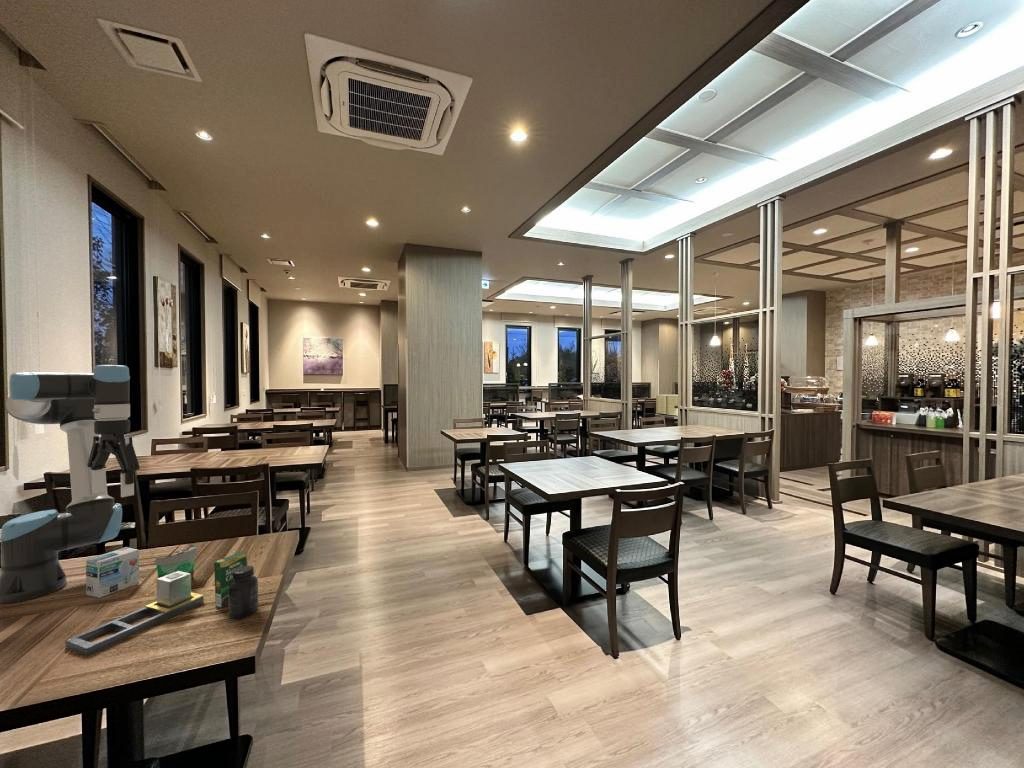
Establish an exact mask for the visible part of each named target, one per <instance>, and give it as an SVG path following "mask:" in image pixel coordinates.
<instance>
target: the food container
mask: <svg viewBox="0 0 1024 768" xmlns="http://www.w3.org/2000/svg"><path fill="white" fill-rule="evenodd" d="M198 552H199V551H198V548H197V546H196V545H195V544H192V543H190V544H189V547H186V548H185V549H182V550H178V551H174V552H172V553H171V554H170V553H169V554H168V555H167V556H165V557H155V559H154V566H156V572H157V579H158V578H161V577H163V576H166V575H169V574H171V573H174V572H177V571H181V572H186V573H190V574H191V582H192V581H193V579H194V572H195V571H194V570H195V561H196V555H198Z"/></svg>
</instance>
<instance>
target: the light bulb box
mask: <svg viewBox="0 0 1024 768" xmlns="http://www.w3.org/2000/svg"><path fill="white" fill-rule="evenodd" d="M85 582H86V583H85V585H86V586H85V587H86V588H85V593H86V596H91V597H95V598H97V599H100V598H102V597H105V596H108V595H110V594H114V593H116V592H119V591H122V590H124V589H127V588H130V587H132V586H135V585H137V584H139V583H140V550H139V549H137V548H133V547H132V548H131V547H128V546H125V547H122V548H120V549H116V550H112V551H110V552H107V553H103V554H100V555H96V556H93V557H90V558H86V559H85Z"/></svg>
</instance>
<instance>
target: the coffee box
mask: <svg viewBox="0 0 1024 768" xmlns="http://www.w3.org/2000/svg"><path fill="white" fill-rule="evenodd" d="M247 559H248V558H247V552H244V551H238V552H236V553H234V554H232V555H229V556H226V557H224V558H221V559H218V560H216V561H214V563H213V565H214V572H213V573H214V594H215V598H214V599H215V601H214V602H215V608H217V609H221V610H222V609H224V608H226V607H229V591H228V588H229V584H230V582H231V581H232V580H233V570H235V569H236V568H239V567H243V566H248V562H247Z"/></svg>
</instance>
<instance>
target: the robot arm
mask: <svg viewBox="0 0 1024 768" xmlns="http://www.w3.org/2000/svg"><path fill="white" fill-rule="evenodd" d="M130 379H131V376H130V368H129V367H128V366H127V365H120V364H119V365H118V364H115V365H114V364H98V365H95V366H94V367H93V372H33V371H26V372H13V373H11V374H10V376H9V386H8V387H9V396H8V397H7V400H5V401H6V402H5V410H6V412H7V413H8V415H10V416H11V417H13V418H14V419H16V420H19V421H21V422H25V423H30V424H37V425H59V430H61V431H62V432H64V433H66V437H67V439H66V440H67V451H68V453H67V454H68V465H69V466H68V467H69V477H70V490H71V491H70V492H71V502H70V503H69V504H67V506H66V507H65V512H63V513H62V512H61V513H59V512H58V510H57V509H47V510H41V511H36V512H32V513H27V514H24V515H20V516H18V517H16V518H12V519H10V520H8V521H7V522H4V524H3V525H2V527H1V530H0V531H1V532H0V543H1V545H0V546H1V547H0V550H1V554H0V560H1V561H0V563H1V564H0V567H1V568H0V570H1V572H0V604H1V603H2V605H4V604H12V603H18V602H23V601H24V602H25V601H28V600H33V599H35V598H39V597H42V596H45V595H48V594H50V593H54V592H55V591H58V590H60V589H62V588H63V587H64V586H66V585H67V574H66V572H65V571H64V569H63V566H62V564H61V562H60V561H59V552H62V551H66V550H72V549H76V548H80V547H85V546H89V545H93V544H100V543H102V542H106V541H111V540H114V538H116V537H118V535H119V533H120V529H121V526H122V520H123V508H122V504H121V503H118V502H117V503H115V497H113V496H110V495H109V493H108V486H107V469H106V468H107V465H106V464H107V461H108V459H109V458H110V456H111V455H114V457H115V459H116V461H117V464H118V465H119V467H120V469H121V471H120V472H119V474H120V498H126V497H131V496H135V473H136V471H138V470H140V469H141V468H140V467H141V466H140V463H139V459H138V457H137V455H136V451H135V447H134V444H133V437H132V436H131V435H130V436H125V435H124V434H125V433H129V432H130V431H131V420H130V419H128V418H130V417H131V403H130V402H131V401H130V396H131V395H130V393H131V391H130Z"/></svg>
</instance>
